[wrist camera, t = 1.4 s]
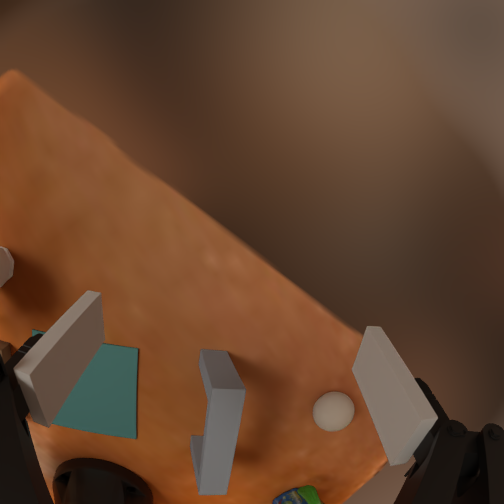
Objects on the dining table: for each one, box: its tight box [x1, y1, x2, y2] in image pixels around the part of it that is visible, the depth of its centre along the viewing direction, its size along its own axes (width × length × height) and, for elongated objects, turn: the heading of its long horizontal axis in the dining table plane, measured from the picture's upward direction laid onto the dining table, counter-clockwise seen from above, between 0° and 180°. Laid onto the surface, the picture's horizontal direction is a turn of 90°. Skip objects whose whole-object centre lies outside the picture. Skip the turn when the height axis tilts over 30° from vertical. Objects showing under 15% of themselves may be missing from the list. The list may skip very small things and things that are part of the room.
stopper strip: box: [0, 340, 11, 364], centre depth 27 cm, size 10×2×2 cm, turn 171°
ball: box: [313, 392, 354, 431], centre depth 37 cm, size 6×6×6 cm
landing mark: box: [32, 330, 138, 439], centre depth 31 cm, size 13×13×1 cm
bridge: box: [190, 349, 246, 495], centre depth 31 cm, size 3×14×9 cm, turn 171°
